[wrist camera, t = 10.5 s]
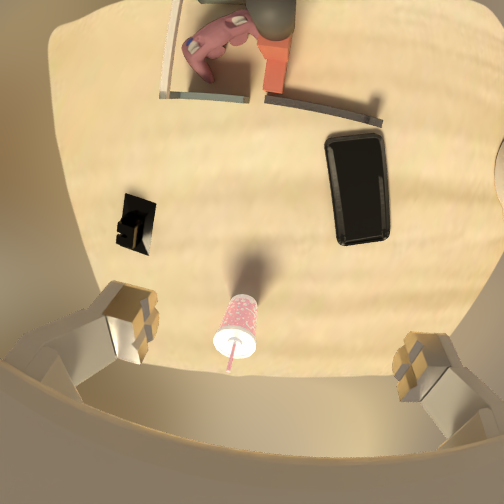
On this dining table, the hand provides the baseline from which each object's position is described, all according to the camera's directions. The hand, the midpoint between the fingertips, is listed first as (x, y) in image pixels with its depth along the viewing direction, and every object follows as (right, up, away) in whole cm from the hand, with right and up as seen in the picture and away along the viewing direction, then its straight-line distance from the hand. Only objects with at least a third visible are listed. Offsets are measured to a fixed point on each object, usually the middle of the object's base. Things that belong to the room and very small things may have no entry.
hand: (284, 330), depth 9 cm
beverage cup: (-2, -6, +40) cm, 40 cm away
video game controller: (-4, +27, +22) cm, 35 cm away
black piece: (-19, +7, +35) cm, 41 cm away
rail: (+7, +20, +24) cm, 32 cm away
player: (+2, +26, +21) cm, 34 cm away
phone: (+13, +11, +29) cm, 33 cm away
